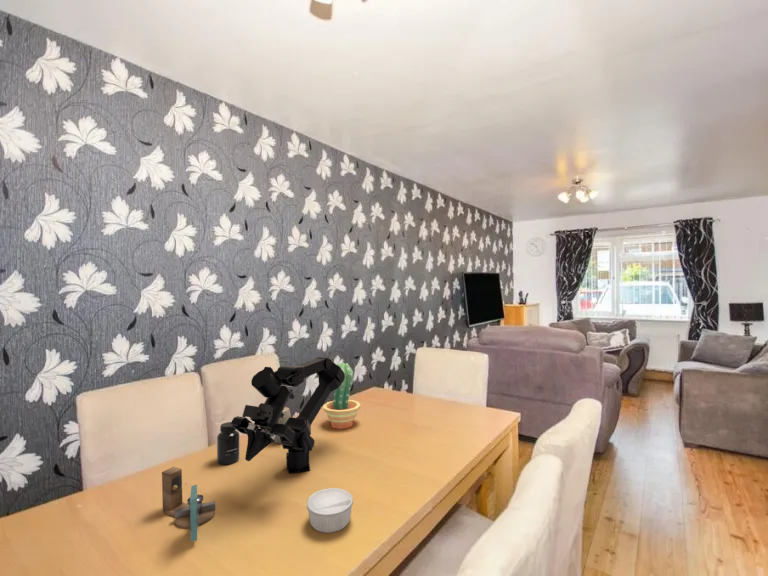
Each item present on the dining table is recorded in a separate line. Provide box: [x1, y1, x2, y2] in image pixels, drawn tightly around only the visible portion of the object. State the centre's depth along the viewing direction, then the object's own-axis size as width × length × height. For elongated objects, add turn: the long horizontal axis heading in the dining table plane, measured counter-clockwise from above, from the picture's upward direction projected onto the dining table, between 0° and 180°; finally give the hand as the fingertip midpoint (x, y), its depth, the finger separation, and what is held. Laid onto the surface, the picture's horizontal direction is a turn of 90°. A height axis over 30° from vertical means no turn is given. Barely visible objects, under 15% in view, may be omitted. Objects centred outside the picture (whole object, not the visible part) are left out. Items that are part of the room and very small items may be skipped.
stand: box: [161, 466, 216, 529], centre depth 97 cm, size 9×15×10 cm, turn 65°
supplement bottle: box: [216, 421, 240, 466], centre depth 126 cm, size 7×7×12 cm
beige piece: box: [273, 406, 292, 445], centre depth 141 cm, size 6×8×12 cm
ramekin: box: [306, 487, 354, 534], centre depth 93 cm, size 11×11×5 cm
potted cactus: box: [322, 362, 361, 430], centre depth 157 cm, size 15×15×25 cm
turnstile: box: [174, 484, 216, 543], centre depth 92 cm, size 9×16×9 cm, turn 24°
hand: (247, 460), depth 101 cm, fingers closed
